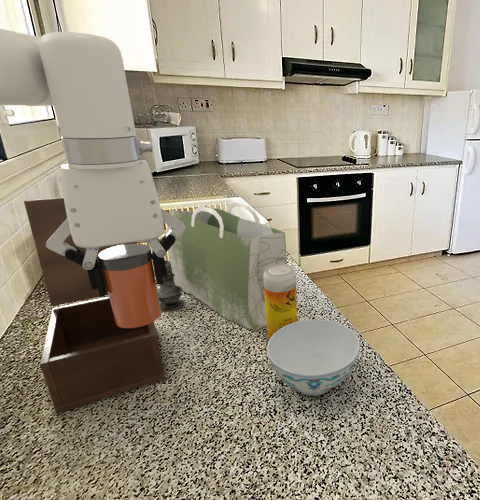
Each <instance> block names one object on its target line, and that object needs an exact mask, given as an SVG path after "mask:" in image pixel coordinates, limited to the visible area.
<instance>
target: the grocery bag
mask: <svg viewBox="0 0 480 500" xmlns="http://www.w3.org/2000/svg"><path fill="white" fill-rule="evenodd" d="M235 207H239V208H243V209H245V210H246V211H248V213H250V214H251V215H252V217H253V219H254V221H253V220H249V219H245V218H242V217H239V216H237V215H235V214H233V213H232V209H233V208H235ZM168 213H169V214H171V215H172V216H174V217H175V218H177V219H178V220H180V221H181V222H183V223H184V225H185V226H186V229H185V230H184V231H183V233H182V234H181V235H180V236H179V237H178V238H177V239H176V241H175V243H174V244H173V245H172V246H171V248H170V249H169V250H168V251H167V254H168V261H169V262H170V263H171V267H172V273H174V274H175V276H174V283H175V285H176V286H180V287H181V288H182V289H183V290H182V292H184V293H187V294H189V295H192V296H193V297H195V298H196V299H197V300H199V301H201V302H202V303H203V304H205V305H206V306H208V307H209V308H211V309H212V310H213V311H215V312H216V313H218V314H219V315H221V316H223V317H224V318H225V319H226V320H229V321H231V322H233V323H235V324H238V325H240V326H242V327H244V328H247V329H249V330H251V331H254V332H258V331H259V330H261V329H263V328H264V327H267V323H266V308H265V293H264V279H263V275H264V272H265V269H266V268H267V267H268V266H270V265H273V264H287V245H286V244H287V243H286V242H287V241H286V232H285V231H282V230H279V229H277V228H274V227H272V226H268V225H266V224H264V223H261V221H260V220H261V219H260V217H259V216H258V214H257V213H256V211H255V210H254V209H253V208H252V207H251V206H249V205H247V204H245V203H242V202H237V201H233V202H231V203H230V204H229V205H228V206H227V211H226V210H223V209H220V208H217V207H213V206H208V205H204V206H201V205H200V206H198V207H196V208H194V210H193V211H187V210H186V211H185V210H175V209H169V211H168ZM170 229H171V226H169V225H168V224H167V229H166V233H168V232H169V230H170Z"/></svg>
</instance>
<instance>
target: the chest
mask: <svg viewBox="0 0 480 500" xmlns="http://www.w3.org/2000/svg"><path fill="white" fill-rule="evenodd" d="M49 317H50V318H49V322H48V326H47V331H46V335H45V338H44V339H45V340H44V344H43V349H42V353H41V358H40V362H39V366H40V369H41V372H42V375H43V378H44V381H45V383H46V387H47V390H48V393H49V396H50V399H51V401H52V404H53V407H54V411H55V414H58V413H62V412H66V411H68V410H71V409H75V408H77V407H80V406H84V405H87V404H91V403H93V402H97V401H100V400H103V399H106V398H109V397H112V396H116V395H118V394H122V393H125V392H128V391H132V390H134V389H137V388H141V387H143V386H148V385H150V384H154V383H156V382H159V381H163V380H166V375H165V368H164V363H163V360H162V359H163V358H162V353H161V348H160V343H159V338H158V334H157V329H156V325H155V321H154V322H152V323H150V324H147V325H145V326H141V327H136V328H122V327H119V326H117V325H116V324H115V320H114V316H113V312H112V308H111V304H110V299H109V296H104V297H99V298H94V299H90V300H86V301H81V302H76V303H70V304H67V305H60V306H56V307H52V309H51V313H50V316H49Z"/></svg>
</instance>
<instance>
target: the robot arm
mask: <svg viewBox="0 0 480 500" xmlns="http://www.w3.org/2000/svg"><path fill="white" fill-rule="evenodd" d="M123 59H124V58H123V55H122V51H121V49H120V48H119V46H118V45H117V44H116V42H114V41H113V40H112V39H110V38H107V37H104V36H100V35H97V34H96V35H95V34H91V33H84V32H83V33H82V32H74V31H73V32H72V31H54V32H53V31H52V32H48V33H47V32H46V33H44V34H43V35H42V36H37V35H31V34H27V33H23V32H22V33H21V32H17V31H14V30H9V29H4V28H0V106H27V107H41V106H42V107H53V111H54V115H55V119H56V124H57V127H58V131H59V135H60V140H61V143H62V147H63V151H64V155H65V159H66V163H65V164H61V166H60V167H61V169H60V175H61V177H60V178H61V188H62V195H63V197H64V203H65V208H66V214H67V219H66V220H65V221H64V222H63V223H62V225H61V226H60V227H59V228H58V229H57V230H56V231H55V232H54V234H53V235H52V236H51V237H50V238H49V239H48V240H47V243H46V247H47V248H48V249H50V250H52V251H54V252H56V253H58V254H60V255H63V256H65V257H66V258H67V259H69V260H71V261H73V262H75V263H77V264H79V265H81V266H83V268H84V269H86V270H87V272H88V276H89V280H90V283H91V287H92V290H94V289H98V291H99V295H100V297H99V298H104V297H106V296H107V295H106V284H105V280H104V276H103V271H102V268H101V267H100V264H99V262H98V260H97V258H96V257H97V254H98V250H99V247H106V246H113V245H120V244H127V243H133V242H137V243H139V242H140V243H141V242H146V243H147V244H148V246H149V247H150V248H151V252H152V265H153V270H154V275H155V281H156V285H159V286H160V285H163V278H162V276H167V271H166V265H165V259H164V258H165V257H166V255H167V253H168V250H169V249H170V248H171V246H172V245H173V244H174V243H175V241H176V239H177V238H178V237H179V236H180V235H181V234H182V233H183V231H184V230H185V229H186V226H185V225H184V223H183V222H181V221H180V220H178V219H177V218H175V217H174V216H172V215H171V214H169V211H166V210H165V209H164V208H163V207H161V204H160V198H159V194H158V191H157V187H156V184H155V181H154V178H153V177H154V176H153V173H152V170H151V167H150V165H149V163H148V161H147V160H144V159H143V160H142V157H141V156H143V154H147V153H153V148H152V147H153V146H152V142H151V141H149V140H146V141H144V140H143V139H140V138H138V136H137V131H136V125H135V121H134V115H133V108H132V104H131V98H130V93H129V86H128V82H127V75H126V71H125V70H126V69H125V65H124V64H125V63H124V60H123ZM165 224H166V225H167V226H168V225H169V226H171V229H170V230H169V232H168V233H167V232H166V233H165ZM164 233H165V234H164ZM70 234H71V236H72V239H73V241H74V243H75V245H76V246H78V247H81V248H86V249H85V252H83V251H81V250H80V249H78V248H76V247H73V246H70V245H69V244H67V243H66V242H65V241H64V240H65V239H66V238H67V237H68V236H69V235H70ZM161 236H162V238H161V239H159V238H160V237H161ZM105 295H106V296H105Z"/></svg>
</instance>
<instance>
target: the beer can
mask: <svg viewBox="0 0 480 500" xmlns="http://www.w3.org/2000/svg"><path fill="white" fill-rule="evenodd" d="M263 279H264V293H265V308H266V323H267V325H266V335H267V337H268V338H269V340H270V339H271V337H272V336H273V335H274V334H275V333H276V332H277V331H278V330H280V329H281V328H283V327H285V326H287V325H289V324H292V323H295V322H298V301H297V300H298V299H297V296H298V295H297V272H296V270H295V269H294V267H293V266H292V265H291V264H288V263H286V264H273V265H270V266H268V267H267V268H266V269H265V272H264V275H263Z"/></svg>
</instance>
